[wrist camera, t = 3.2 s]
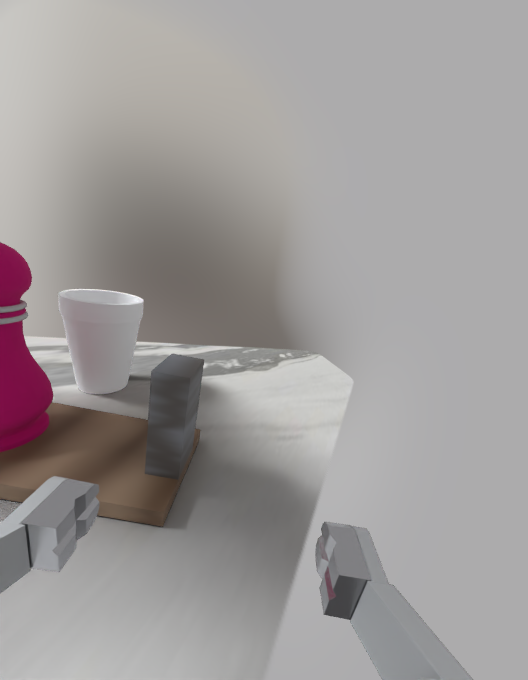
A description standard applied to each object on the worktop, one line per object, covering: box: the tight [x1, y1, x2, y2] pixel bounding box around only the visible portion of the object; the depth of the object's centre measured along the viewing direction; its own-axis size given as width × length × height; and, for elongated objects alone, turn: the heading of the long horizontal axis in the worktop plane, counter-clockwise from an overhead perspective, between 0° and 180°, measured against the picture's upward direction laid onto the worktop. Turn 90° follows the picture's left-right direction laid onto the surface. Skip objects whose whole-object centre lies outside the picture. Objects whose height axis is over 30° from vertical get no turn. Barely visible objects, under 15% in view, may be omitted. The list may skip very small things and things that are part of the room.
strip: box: [0, 354, 204, 527], centre depth 22 cm, size 28×10×12 cm, turn 88°
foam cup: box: [58, 289, 144, 394], centre depth 34 cm, size 10×9×13 cm
